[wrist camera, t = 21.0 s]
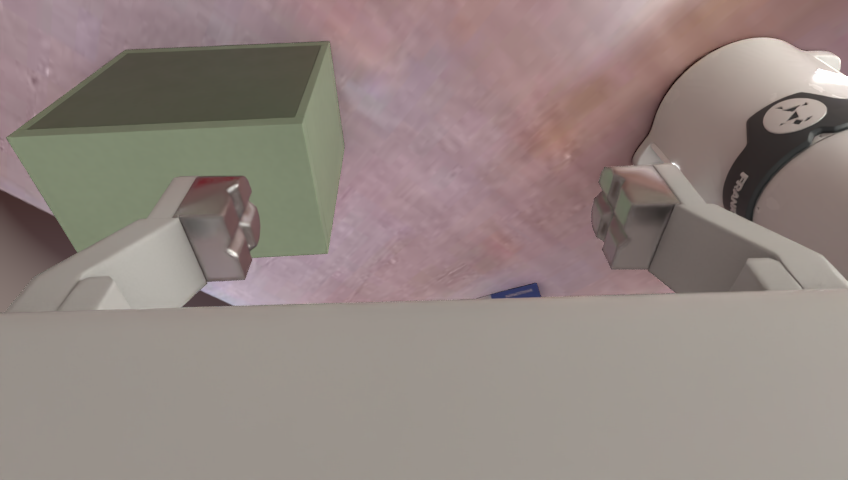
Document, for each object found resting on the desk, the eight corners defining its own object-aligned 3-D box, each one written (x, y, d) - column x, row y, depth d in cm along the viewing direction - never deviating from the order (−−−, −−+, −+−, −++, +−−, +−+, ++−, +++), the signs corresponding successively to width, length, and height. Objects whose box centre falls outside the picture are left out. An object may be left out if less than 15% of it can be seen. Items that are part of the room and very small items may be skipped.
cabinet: (344, 147, 47) (327, 254, 34) (167, 156, 46) (86, 267, 34) (329, 41, 41) (302, 123, 28) (125, 49, 40) (5, 137, 28)
